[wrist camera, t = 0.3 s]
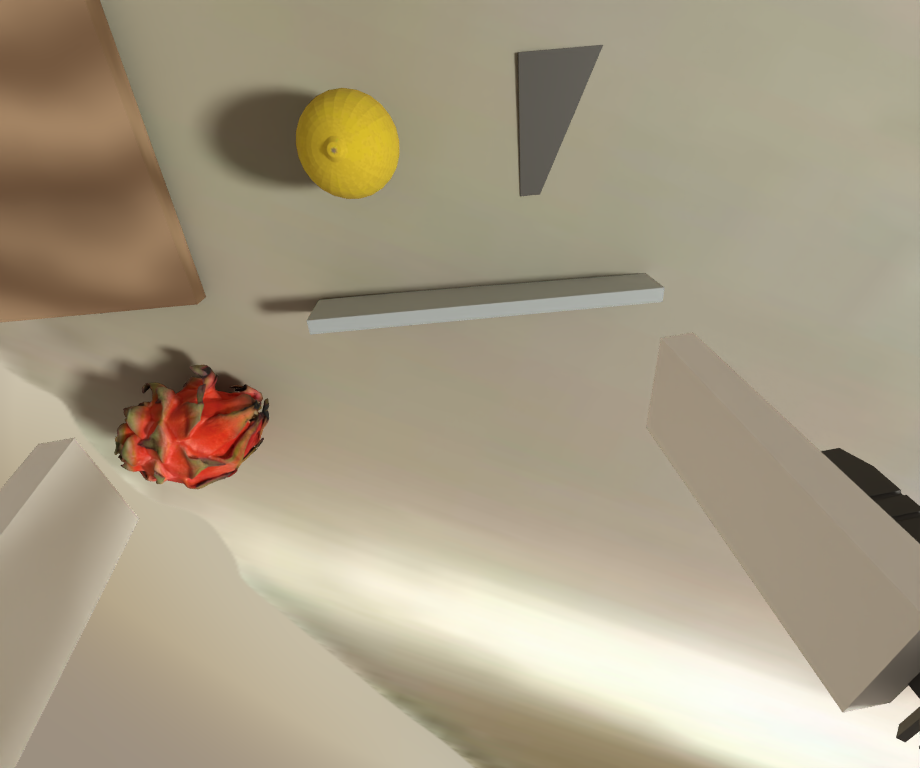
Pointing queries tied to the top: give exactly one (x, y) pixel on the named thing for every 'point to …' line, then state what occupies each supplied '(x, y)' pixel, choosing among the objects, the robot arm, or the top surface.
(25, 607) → the robot arm
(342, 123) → the lemon
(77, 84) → the board
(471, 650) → the top surface
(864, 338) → the top surface
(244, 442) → the dragon fruit
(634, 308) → the top surface
